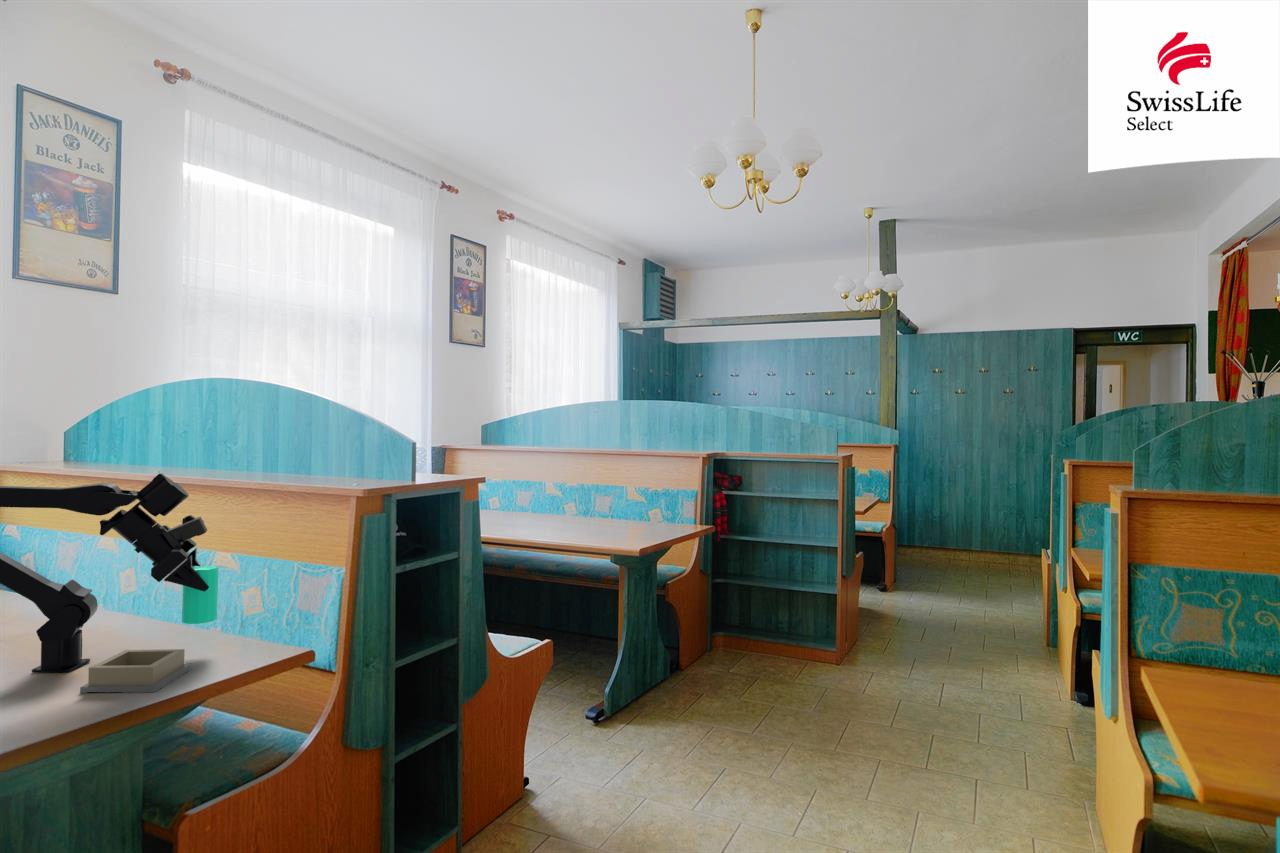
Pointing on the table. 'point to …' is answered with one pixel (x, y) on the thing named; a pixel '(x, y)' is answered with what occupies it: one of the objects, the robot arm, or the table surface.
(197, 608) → the candle
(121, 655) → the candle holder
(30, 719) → the table surface
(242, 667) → the table surface
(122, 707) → the table surface
